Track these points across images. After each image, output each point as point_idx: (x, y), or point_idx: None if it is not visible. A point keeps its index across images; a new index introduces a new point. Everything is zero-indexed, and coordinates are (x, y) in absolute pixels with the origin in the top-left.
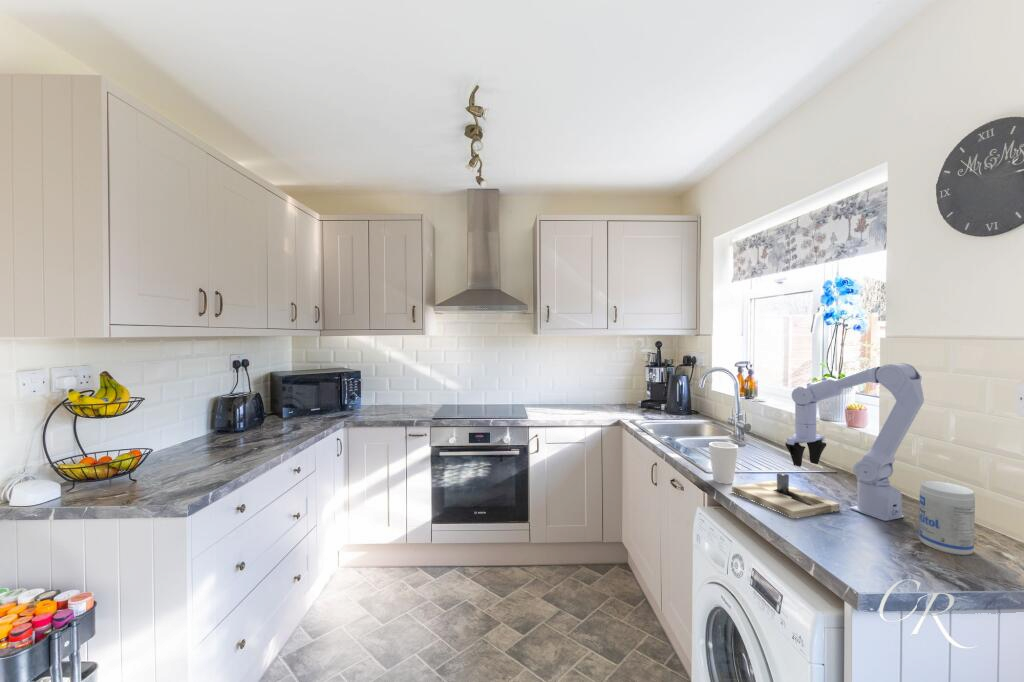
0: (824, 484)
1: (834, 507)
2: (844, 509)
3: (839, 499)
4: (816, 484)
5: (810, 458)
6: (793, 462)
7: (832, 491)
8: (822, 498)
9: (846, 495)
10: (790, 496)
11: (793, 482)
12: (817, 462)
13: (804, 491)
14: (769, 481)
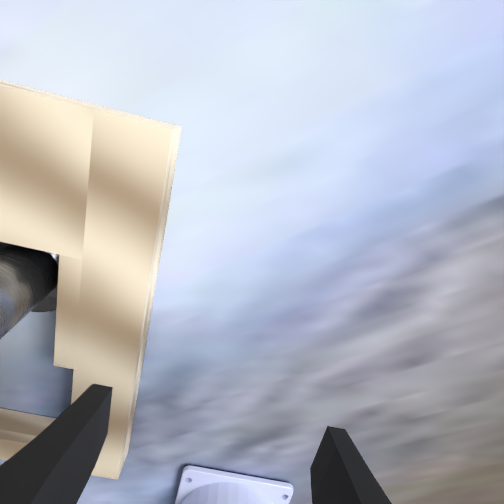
0: (495, 281)
1: None
2: (164, 453)
3: (279, 406)
4: (459, 256)
5: (336, 463)
6: (74, 405)
7: (385, 350)
8: (114, 425)
9: (370, 402)
10: (52, 300)
11: (392, 156)
12: (314, 491)
13: (136, 342)
14: (117, 123)
